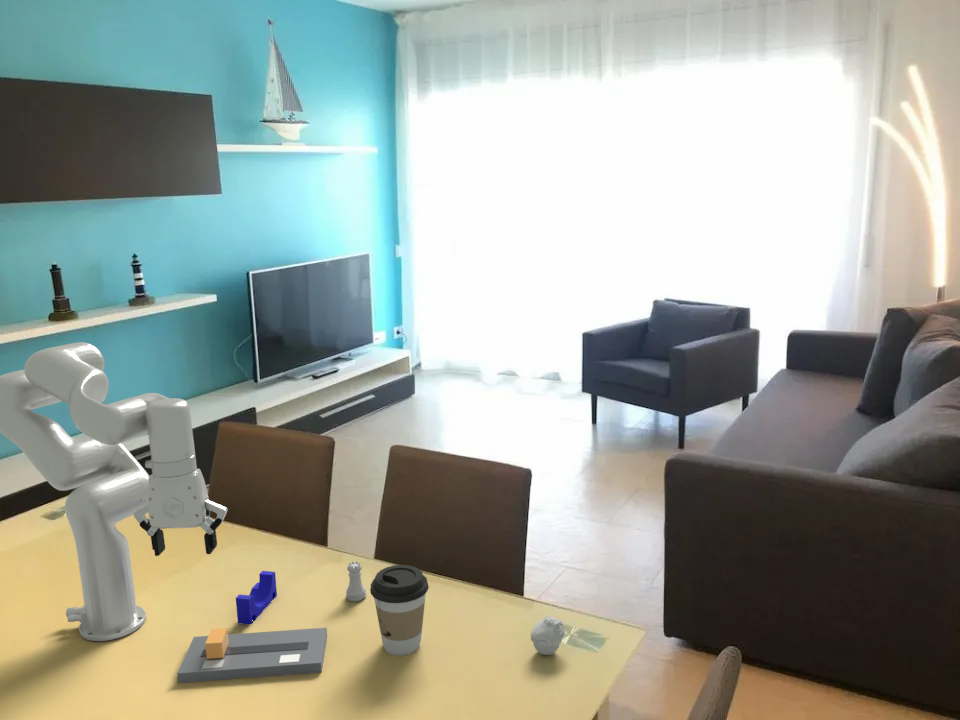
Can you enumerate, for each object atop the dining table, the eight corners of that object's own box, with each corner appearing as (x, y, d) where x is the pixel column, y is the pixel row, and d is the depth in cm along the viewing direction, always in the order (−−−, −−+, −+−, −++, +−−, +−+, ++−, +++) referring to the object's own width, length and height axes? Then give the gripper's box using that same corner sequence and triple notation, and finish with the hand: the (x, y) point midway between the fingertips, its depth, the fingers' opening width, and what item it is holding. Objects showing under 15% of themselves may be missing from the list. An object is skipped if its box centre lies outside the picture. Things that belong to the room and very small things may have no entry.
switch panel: (178, 682, 144) (177, 672, 144) (194, 645, 156) (193, 636, 156) (321, 672, 147) (320, 662, 146) (327, 636, 158) (326, 627, 158)
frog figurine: (571, 654, 151) (571, 621, 150) (542, 666, 147) (542, 632, 146) (552, 639, 156) (552, 607, 155) (523, 650, 152) (523, 618, 151)
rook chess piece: (357, 604, 170) (355, 570, 169) (341, 599, 173) (339, 565, 171) (370, 595, 174) (368, 562, 172) (355, 590, 176) (353, 557, 175)
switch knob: (206, 658, 148) (205, 643, 147) (213, 643, 152) (211, 629, 152) (223, 657, 148) (221, 642, 147) (228, 642, 153) (227, 627, 152)
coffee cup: (362, 642, 156) (358, 573, 153) (410, 623, 163) (408, 556, 159) (392, 669, 147) (388, 597, 144) (442, 647, 154) (439, 577, 151)
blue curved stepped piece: (258, 594, 176) (256, 570, 174) (277, 596, 175) (275, 571, 173) (231, 623, 164) (229, 597, 163) (251, 625, 163) (248, 599, 162)
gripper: (118, 474, 141) (131, 562, 145) (214, 471, 141) (224, 559, 144) (137, 460, 148) (148, 544, 152) (228, 457, 148) (237, 541, 152)
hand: (185, 551), depth 148 cm, fingers open, 9 cm apart
